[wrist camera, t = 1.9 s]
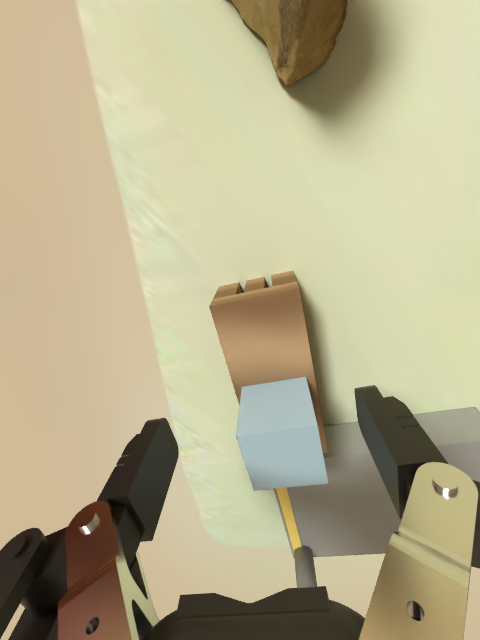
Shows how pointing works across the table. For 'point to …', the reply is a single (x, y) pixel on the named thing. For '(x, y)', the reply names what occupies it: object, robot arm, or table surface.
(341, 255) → the table surface
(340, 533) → the dock
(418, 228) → the table surface
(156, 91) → the table surface
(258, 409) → the pale blue cube
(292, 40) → the rock
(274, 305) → the pallet
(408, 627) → the robot arm
